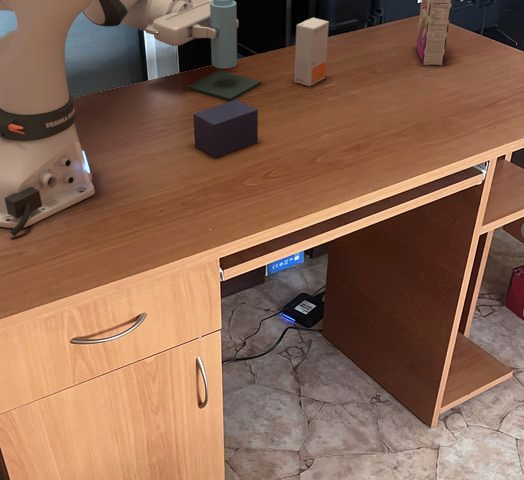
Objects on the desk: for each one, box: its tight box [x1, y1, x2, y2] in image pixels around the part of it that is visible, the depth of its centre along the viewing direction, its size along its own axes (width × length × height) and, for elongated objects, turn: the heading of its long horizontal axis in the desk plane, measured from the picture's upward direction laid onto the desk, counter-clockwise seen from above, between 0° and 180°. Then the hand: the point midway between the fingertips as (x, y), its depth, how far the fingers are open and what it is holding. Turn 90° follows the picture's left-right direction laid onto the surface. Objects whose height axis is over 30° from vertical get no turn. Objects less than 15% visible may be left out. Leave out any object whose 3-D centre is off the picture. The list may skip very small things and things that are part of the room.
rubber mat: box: [187, 69, 262, 102], centre depth 165 cm, size 11×11×1 cm
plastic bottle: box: [210, 0, 238, 69], centre depth 157 cm, size 14×5×14 cm
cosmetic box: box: [293, 17, 330, 87], centre depth 164 cm, size 6×4×12 cm
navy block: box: [192, 98, 259, 159], centre depth 142 cm, size 6×10×6 cm, turn 130°
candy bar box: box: [415, 0, 453, 67], centre depth 173 cm, size 11×5×16 cm, turn 179°
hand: (226, 29), depth 157 cm, fingers closed on plastic bottle, 5 cm apart
